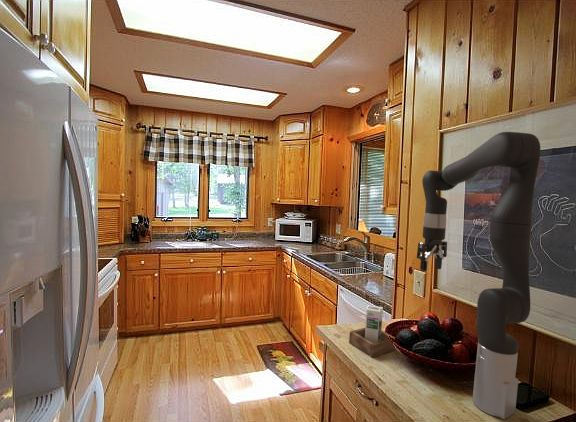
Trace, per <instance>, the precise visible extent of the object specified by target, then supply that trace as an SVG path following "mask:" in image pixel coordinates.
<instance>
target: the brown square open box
mask: <svg viewBox="0 0 576 422" xmlns="http://www.w3.org/2000/svg"><path fill="white" fill-rule="evenodd" d="M365 329H366V327H362V328H358V329H355V330H351V331H349V337H348V344H350V345H351V346H353V347H355V348H356V349H358V350H360V351H361V352H362V353H364V354H366V355H367V356H369V357H370V358H371V359H373V358H376V357H380V356H383V355H385V354H389V353H392V352H394V351H396V350H397V347H396V348H395V346H394V345H393V343H392V342H391V341H390V339H388V337H387V336H390V337H391V338H393V339H395V338H396V337H395V336H392V335H391V334H389V333H387V332H385V331H383V330H381V341H379V342H376V343H372V342H370V341H369V340H367V339H365Z"/></svg>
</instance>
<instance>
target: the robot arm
mask: <svg viewBox="0 0 576 422" xmlns="http://www.w3.org/2000/svg"><path fill="white" fill-rule="evenodd" d="M540 157H541V143H540V141H539V138H538V137H537V136H536V135H535V134H532V133H529V132H527V133H526V132H516V131H502V132H499V133H497V134H495V135H493V136H492V137H491V138H489V139H488V140H486V141H485V142H484V143H483V144H481V145H480V146H478V147H477V148H476V149H474V150H473V151H471V152H470V153H469V154H468V155H466V156H464V157H462V158H460V159H459V160H457V161H454V162H452V163H450V164H447V166H445V167H444V168H443V169H442V170H427V171H426V172H425V173H424V175H423V176H422V181H421V183H422V188H423V193H424V200H425V208H424V211H425V213H424V216H423V225H422V238H423V239H424V242H421V241H419V242H418V244H417V252H416V259H419V260H420V265H419V269H420V271H422V272H427V271H428V262H429V261H428V260H429V259H430V257H431V256H433V255H434V256H435V260H434V268H435V269H437V270H441V269H442V265H443V259H444V258H447V255H448V254H447V253H448V251H447V250H448V241H446V240H445V239H446V230H447V229H446V228H447V211H448V210H447V208H448V200H447V198H444V197H441V196H439V195H438V192H437V191H442V192H443V191H444V192H445V191H450V190H452V189H454V188H455V187H456V186H458V184H461V183H464V182H466V181H469V180H471V179H472V178H474V177H475V176H477V174H478V173H479V171H480V170H483V169H486V168H490V167H502V168H509V181H508V185H507V188H506V190H505V192H504V194H503V195H502V196H501V198H500V199H499V201H498V202H497V203H496V204H495V207H494V208H493V210H492V212H491V215H490V223H489V241H490V244H491V247H492V249H493V251H494V254H495V255H496V257H497V258H498V260H499V263H500V266H501V269H502V288H501V287H500V288H499V287H498V288H495V287H494V288H493V287H492V288H485V289H483V290H482V291H481V292H480V293H479V295H478V298H477V304H476V332H477V335H478V338H477V340H478V341H477V351H476V359H475V360H476V361H475V370H474V371H475V372H474V379H473V380H474V382H473V392H472V402H473V404H474V406H475V407H476V408H478V409H479V410H480V411H482V412H484V413H486V414H488V415H491V416H493V417H497V418H499V419H502V420H506V419H508V418H509V417H510V416H512V415H514V414H515V413H516V406H517V398H518V397H517V396H518V388H519V379H518V378H517V377H516V372H517V366H518V365H517V363H518V355H519V347H520V344H519V340H517V338H515V337H514V336H512V335H511V334H508V333H507V332H506V331H507V328H506V327H507V326H506V325H509V324H511V325H512V324H521V323H524V322H525V321H527V319H528V318H529V316H530V312H531V288H530V247H531V246H530V245H531V237H532V225H533V220H532V219H533V203H534V193H535V186H536V179H537V175H538V170H539V164H540Z"/></svg>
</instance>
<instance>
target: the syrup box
mask: <svg viewBox="0 0 576 422" xmlns="http://www.w3.org/2000/svg"><path fill="white" fill-rule="evenodd" d="M383 311H384V307H383V306H376V305H371V304H368V305H367V307H366V312H365V314H366V315H365V328H366V329H365V339H367V340H369V341H370V342H372V343H376V342H379V341H381V331H382V328H383V327H382V326H383Z"/></svg>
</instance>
